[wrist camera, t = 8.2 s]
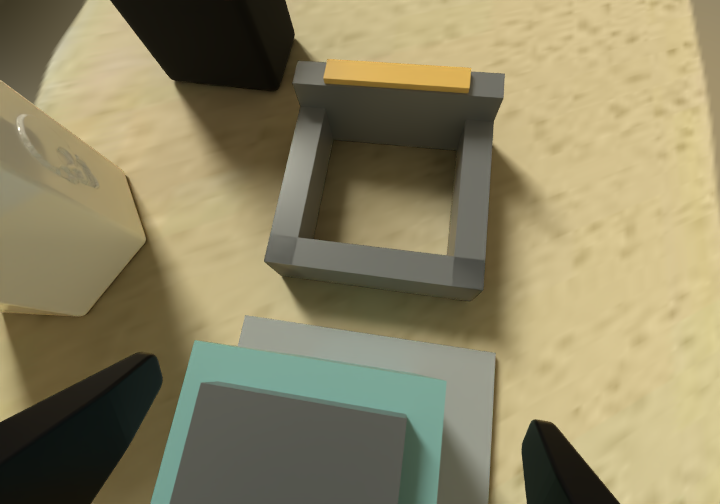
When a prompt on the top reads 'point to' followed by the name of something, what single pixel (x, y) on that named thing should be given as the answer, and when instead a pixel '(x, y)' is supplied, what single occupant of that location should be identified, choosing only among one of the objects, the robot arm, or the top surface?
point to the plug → (300, 432)
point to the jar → (58, 215)
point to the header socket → (393, 127)
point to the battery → (215, 39)
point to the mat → (453, 364)
